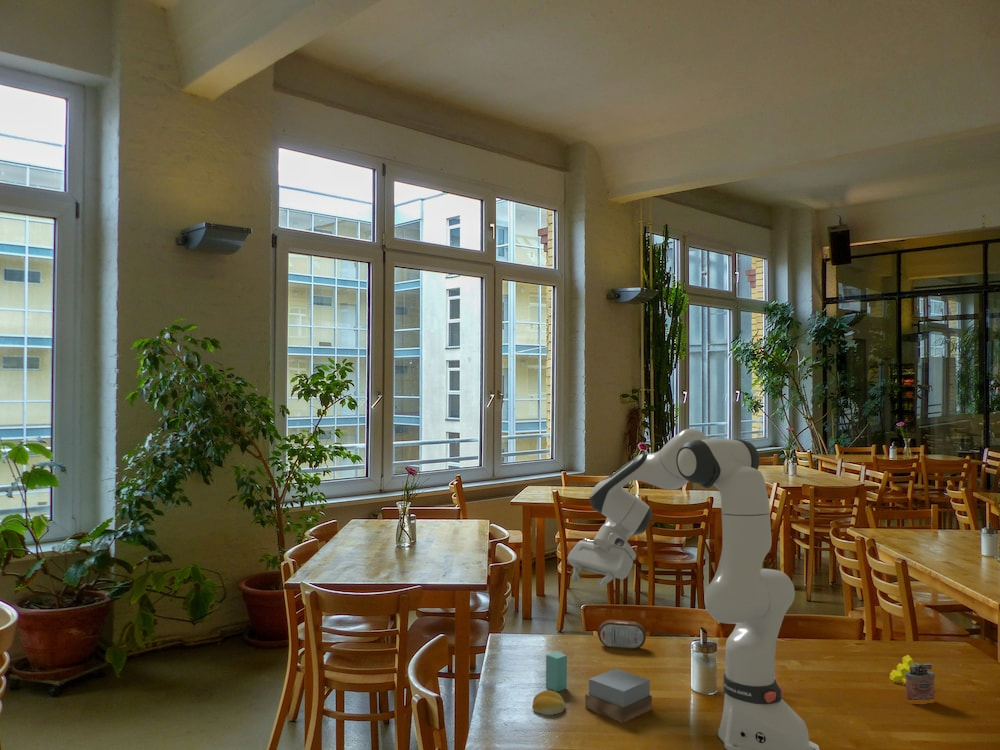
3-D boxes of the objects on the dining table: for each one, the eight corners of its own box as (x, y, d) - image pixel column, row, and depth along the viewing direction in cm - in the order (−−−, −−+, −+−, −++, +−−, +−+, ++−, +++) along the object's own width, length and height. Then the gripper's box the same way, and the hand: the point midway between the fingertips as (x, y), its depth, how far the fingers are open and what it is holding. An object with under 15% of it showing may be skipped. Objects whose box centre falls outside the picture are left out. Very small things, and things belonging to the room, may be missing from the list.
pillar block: (566, 688, 212) (566, 655, 212) (556, 692, 209) (557, 658, 209) (555, 684, 215) (556, 651, 215) (545, 687, 212) (546, 654, 212)
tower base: (651, 711, 198) (651, 695, 199) (622, 725, 190) (622, 708, 190) (614, 697, 207) (614, 682, 207) (585, 710, 199) (585, 694, 199)
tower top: (649, 695, 199) (649, 679, 199) (623, 707, 191) (623, 691, 191) (615, 683, 207) (615, 668, 207) (588, 694, 199) (589, 679, 199)
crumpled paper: (885, 679, 222) (885, 651, 222) (911, 678, 223) (911, 650, 223) (898, 686, 216) (898, 658, 216) (924, 685, 217) (924, 658, 217)
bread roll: (531, 716, 194) (531, 700, 194) (533, 701, 203) (533, 686, 203) (564, 717, 194) (564, 701, 194) (565, 703, 202) (565, 687, 202)
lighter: (910, 705, 203) (910, 666, 203) (901, 700, 206) (902, 662, 207) (938, 703, 204) (938, 665, 205) (929, 698, 208) (929, 661, 208)
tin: (645, 647, 246) (646, 621, 246) (646, 651, 243) (646, 624, 243) (598, 644, 249) (598, 618, 249) (597, 647, 246) (597, 621, 246)
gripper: (576, 531, 233) (554, 569, 226) (632, 543, 218) (610, 584, 212) (585, 544, 236) (564, 581, 230) (641, 557, 222) (619, 597, 215)
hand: (586, 583), depth 221 cm, fingers open, 8 cm apart
